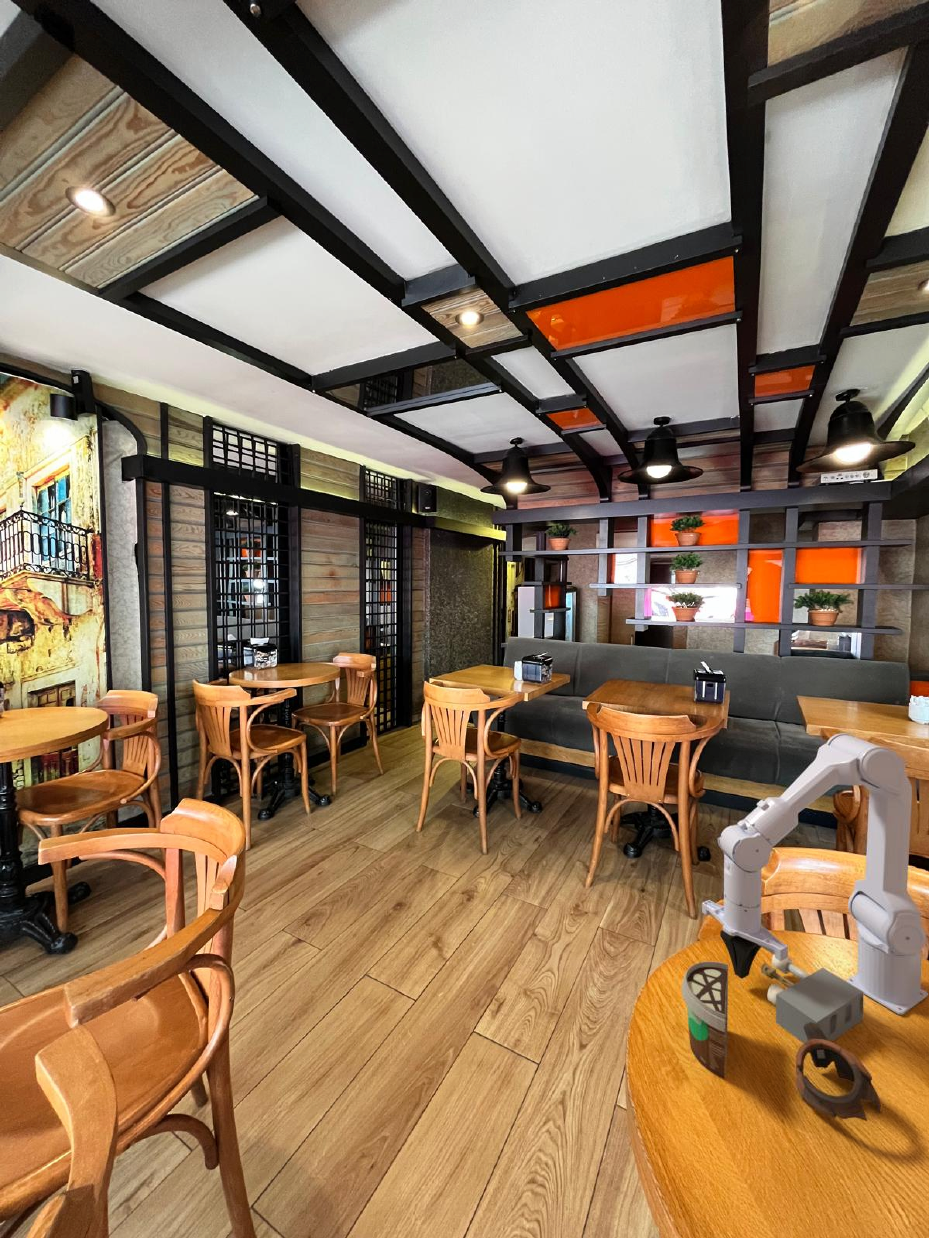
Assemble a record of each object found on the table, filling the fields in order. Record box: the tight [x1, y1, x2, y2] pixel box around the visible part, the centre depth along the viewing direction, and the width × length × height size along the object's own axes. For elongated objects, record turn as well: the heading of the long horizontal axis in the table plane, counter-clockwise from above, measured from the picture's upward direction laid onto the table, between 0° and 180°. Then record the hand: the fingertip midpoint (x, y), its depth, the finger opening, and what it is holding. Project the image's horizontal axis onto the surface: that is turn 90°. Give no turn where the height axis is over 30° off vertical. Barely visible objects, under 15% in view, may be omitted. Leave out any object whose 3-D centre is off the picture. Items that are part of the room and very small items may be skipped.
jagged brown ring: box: [794, 1022, 882, 1122], centre depth 68 cm, size 12×10×8 cm
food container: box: [681, 960, 729, 1080], centre depth 76 cm, size 12×6×10 cm, turn 150°
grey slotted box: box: [775, 967, 864, 1044], centre depth 80 cm, size 13×6×5 cm, turn 116°
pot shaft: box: [760, 962, 795, 988], centre depth 85 cm, size 2×7×2 cm, turn 26°
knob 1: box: [766, 983, 785, 1006], centre depth 79 cm, size 3×7×3 cm, turn 26°
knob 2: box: [771, 954, 810, 981], centre depth 87 cm, size 3×7×3 cm, turn 26°
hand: (741, 974), depth 87 cm, fingers closed
